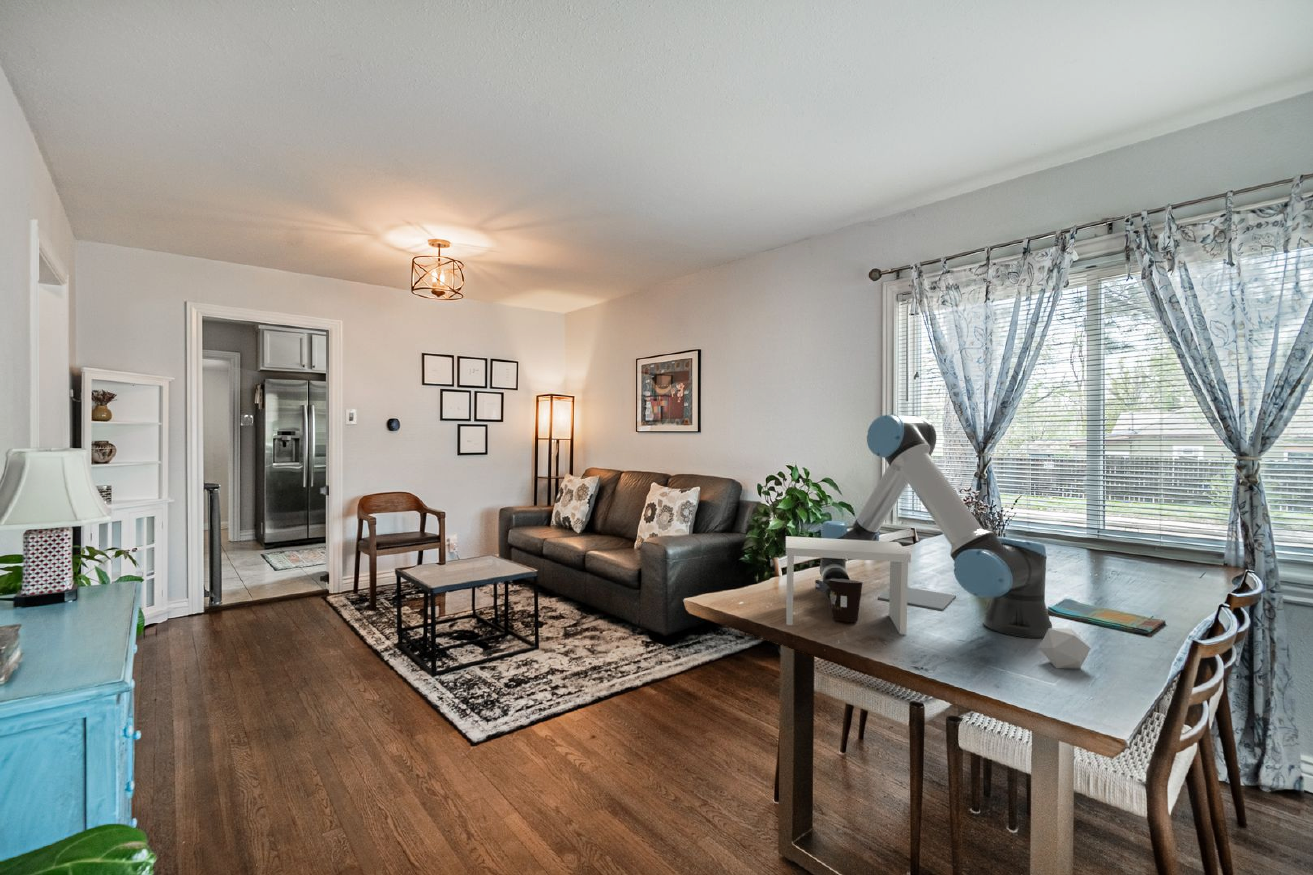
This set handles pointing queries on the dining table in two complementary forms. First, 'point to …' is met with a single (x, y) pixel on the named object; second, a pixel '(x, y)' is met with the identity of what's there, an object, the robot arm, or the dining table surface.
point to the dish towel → (1106, 617)
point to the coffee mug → (853, 599)
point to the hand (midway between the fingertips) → (843, 601)
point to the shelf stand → (859, 552)
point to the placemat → (924, 598)
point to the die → (1064, 648)
